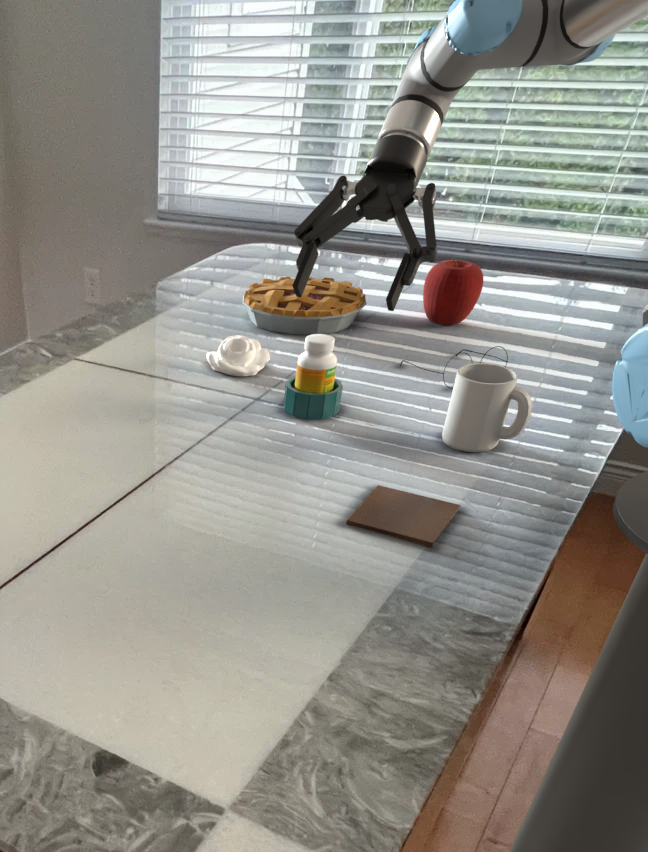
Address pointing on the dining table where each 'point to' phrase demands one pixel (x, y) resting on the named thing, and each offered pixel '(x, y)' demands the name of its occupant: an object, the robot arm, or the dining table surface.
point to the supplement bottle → (316, 365)
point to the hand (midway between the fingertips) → (341, 298)
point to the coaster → (404, 515)
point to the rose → (239, 356)
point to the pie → (303, 305)
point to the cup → (484, 408)
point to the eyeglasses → (456, 355)
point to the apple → (451, 291)
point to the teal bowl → (312, 401)
